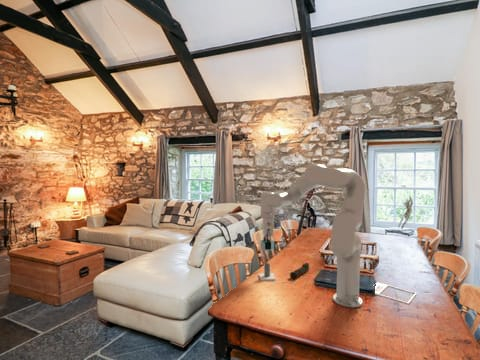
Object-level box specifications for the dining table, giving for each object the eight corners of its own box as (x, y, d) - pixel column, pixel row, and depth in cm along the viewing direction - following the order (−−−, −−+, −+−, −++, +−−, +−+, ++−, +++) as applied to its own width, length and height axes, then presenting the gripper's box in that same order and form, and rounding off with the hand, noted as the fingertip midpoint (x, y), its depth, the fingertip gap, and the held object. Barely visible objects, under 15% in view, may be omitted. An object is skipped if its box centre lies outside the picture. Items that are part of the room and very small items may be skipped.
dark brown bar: (296, 280, 153) (296, 272, 153) (289, 278, 156) (289, 270, 156) (312, 271, 167) (313, 263, 167) (306, 269, 170) (306, 261, 170)
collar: (274, 250, 152) (274, 243, 152) (261, 250, 152) (261, 243, 152) (272, 246, 159) (272, 239, 159) (259, 246, 159) (260, 239, 159)
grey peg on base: (275, 280, 152) (275, 265, 152) (260, 280, 152) (260, 265, 152) (273, 274, 160) (273, 260, 160) (259, 275, 160) (259, 260, 160)
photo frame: (377, 281, 149) (416, 292, 137) (377, 283, 150) (416, 294, 137) (367, 290, 139) (408, 302, 126) (367, 292, 139) (408, 305, 127)
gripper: (277, 217, 146) (276, 252, 147) (272, 212, 163) (271, 242, 164) (262, 217, 146) (261, 252, 147) (259, 212, 163) (258, 242, 164)
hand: (267, 246), depth 155 cm, fingers closed on collar, 7 cm apart
